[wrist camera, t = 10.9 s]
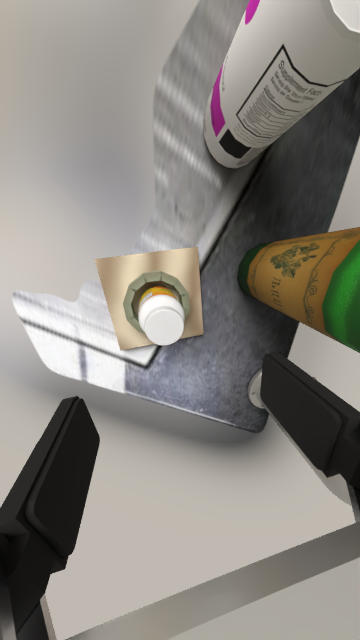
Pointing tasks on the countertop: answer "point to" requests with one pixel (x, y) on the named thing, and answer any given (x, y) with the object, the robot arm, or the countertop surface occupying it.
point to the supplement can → (278, 72)
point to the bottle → (310, 281)
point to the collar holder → (142, 273)
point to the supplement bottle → (161, 315)
